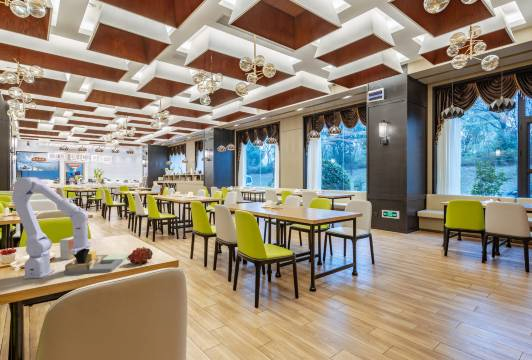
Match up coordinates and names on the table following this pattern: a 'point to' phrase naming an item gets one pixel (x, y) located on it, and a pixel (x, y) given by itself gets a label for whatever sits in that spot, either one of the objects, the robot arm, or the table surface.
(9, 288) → the table surface
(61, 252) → the small box
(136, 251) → the red grape bunch
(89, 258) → the cube
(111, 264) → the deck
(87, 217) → the robot arm
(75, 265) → the shallow brown tray
